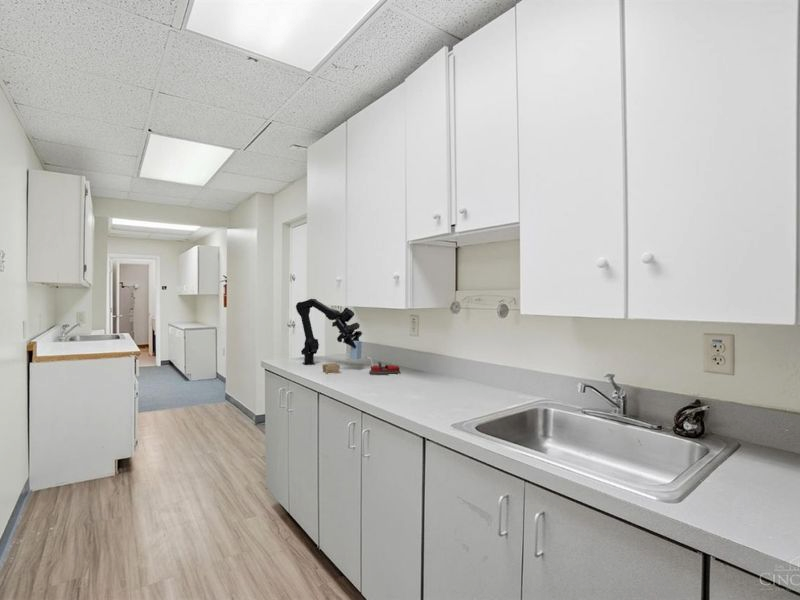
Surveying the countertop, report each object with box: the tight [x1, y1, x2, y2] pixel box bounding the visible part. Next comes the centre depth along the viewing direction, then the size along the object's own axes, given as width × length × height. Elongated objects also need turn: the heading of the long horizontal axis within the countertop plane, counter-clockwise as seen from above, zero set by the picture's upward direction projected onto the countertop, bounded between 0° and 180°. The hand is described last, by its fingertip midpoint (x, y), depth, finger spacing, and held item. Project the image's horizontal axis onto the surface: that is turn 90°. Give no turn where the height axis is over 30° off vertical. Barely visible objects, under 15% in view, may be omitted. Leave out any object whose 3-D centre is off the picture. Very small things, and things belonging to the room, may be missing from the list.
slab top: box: [321, 363, 341, 370], centre depth 236 cm, size 7×7×2 cm
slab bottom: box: [322, 369, 340, 375], centre depth 236 cm, size 7×7×2 cm
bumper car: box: [364, 356, 401, 376], centre depth 236 cm, size 10×20×10 cm, turn 107°
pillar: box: [349, 340, 363, 360], centre depth 246 cm, size 4×4×10 cm
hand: (358, 347), depth 245 cm, fingers closed on pillar, 4 cm apart
